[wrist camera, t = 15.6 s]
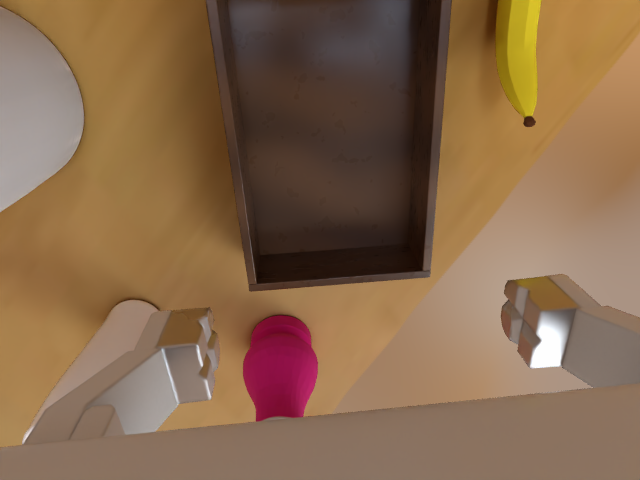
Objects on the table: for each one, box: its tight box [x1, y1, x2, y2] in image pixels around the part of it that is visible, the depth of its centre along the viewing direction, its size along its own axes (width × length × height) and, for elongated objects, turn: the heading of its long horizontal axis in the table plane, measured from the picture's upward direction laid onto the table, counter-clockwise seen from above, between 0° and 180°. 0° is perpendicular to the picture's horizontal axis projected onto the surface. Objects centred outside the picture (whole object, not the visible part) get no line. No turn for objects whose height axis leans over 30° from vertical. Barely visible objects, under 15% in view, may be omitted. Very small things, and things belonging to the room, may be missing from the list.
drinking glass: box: [22, 300, 159, 445], centre depth 37 cm, size 7×7×15 cm
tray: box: [206, 0, 452, 291], centre depth 34 cm, size 22×15×6 cm
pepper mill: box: [243, 315, 318, 422], centre depth 37 cm, size 7×7×20 cm
